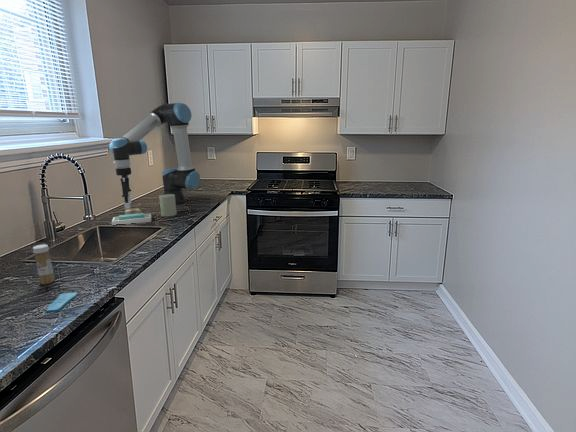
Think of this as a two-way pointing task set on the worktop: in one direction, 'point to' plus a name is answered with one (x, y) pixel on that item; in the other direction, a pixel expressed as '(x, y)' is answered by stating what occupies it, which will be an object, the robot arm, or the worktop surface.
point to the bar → (131, 216)
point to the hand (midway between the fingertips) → (128, 205)
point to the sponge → (61, 301)
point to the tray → (132, 220)
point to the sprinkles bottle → (43, 264)
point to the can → (167, 205)
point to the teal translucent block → (134, 210)
